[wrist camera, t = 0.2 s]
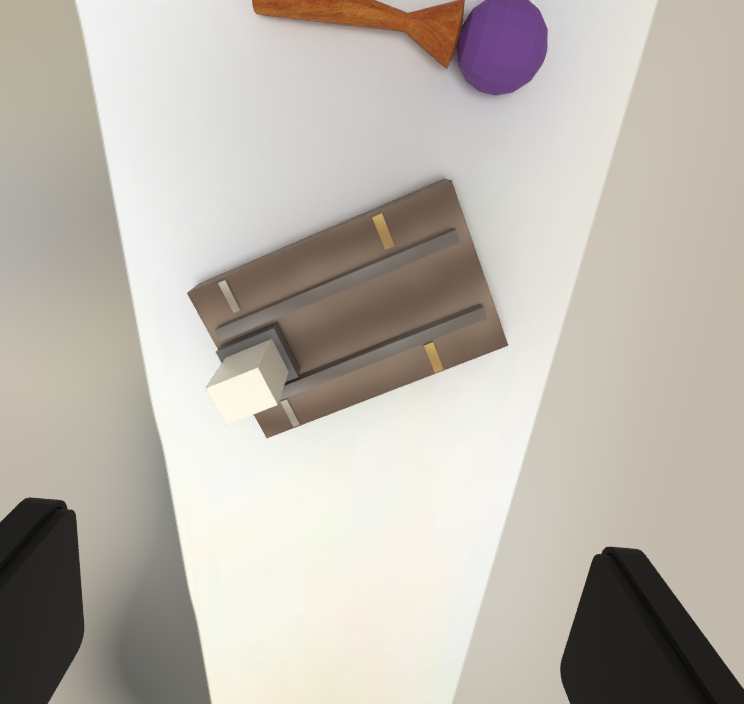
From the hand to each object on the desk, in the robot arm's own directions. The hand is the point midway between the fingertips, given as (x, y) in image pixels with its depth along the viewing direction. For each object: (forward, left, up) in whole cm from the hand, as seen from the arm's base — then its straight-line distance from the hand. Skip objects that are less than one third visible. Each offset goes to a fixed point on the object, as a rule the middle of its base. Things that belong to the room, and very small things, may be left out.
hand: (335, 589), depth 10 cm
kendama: (-14, +9, -37) cm, 40 cm away
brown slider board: (+4, -2, -37) cm, 37 cm away
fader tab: (+4, -10, -33) cm, 35 cm away
